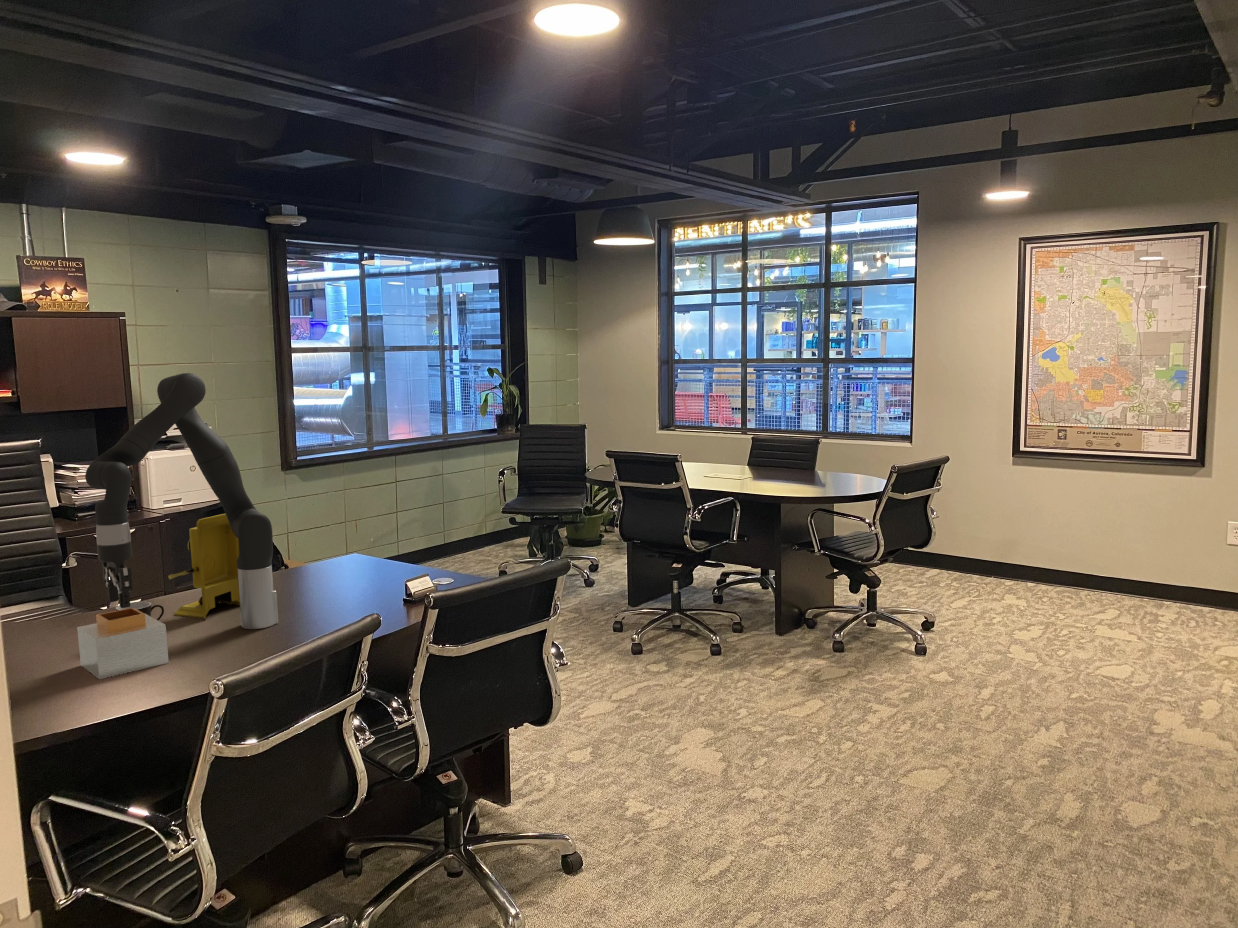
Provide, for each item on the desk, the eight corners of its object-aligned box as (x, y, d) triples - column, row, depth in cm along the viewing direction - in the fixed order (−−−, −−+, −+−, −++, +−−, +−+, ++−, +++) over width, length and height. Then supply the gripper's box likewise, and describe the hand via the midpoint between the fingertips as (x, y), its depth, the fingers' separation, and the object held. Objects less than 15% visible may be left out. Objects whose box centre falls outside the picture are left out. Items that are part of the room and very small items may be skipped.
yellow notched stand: (233, 594, 301) (227, 503, 297) (267, 597, 296) (261, 505, 292) (154, 621, 272) (146, 521, 268) (191, 625, 267) (183, 523, 263)
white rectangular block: (147, 650, 245) (143, 602, 244) (168, 662, 235) (164, 613, 233) (80, 665, 234) (76, 615, 233) (99, 679, 224) (94, 627, 222)
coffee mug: (118, 648, 247) (115, 611, 246) (119, 639, 255) (115, 604, 254) (166, 641, 253) (163, 605, 251) (165, 633, 260) (163, 598, 259)
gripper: (140, 542, 228) (145, 606, 230) (120, 534, 238) (126, 596, 240) (106, 547, 223) (112, 612, 225) (88, 539, 233) (94, 602, 235)
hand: (119, 604), depth 233 cm, fingers open, 8 cm apart
